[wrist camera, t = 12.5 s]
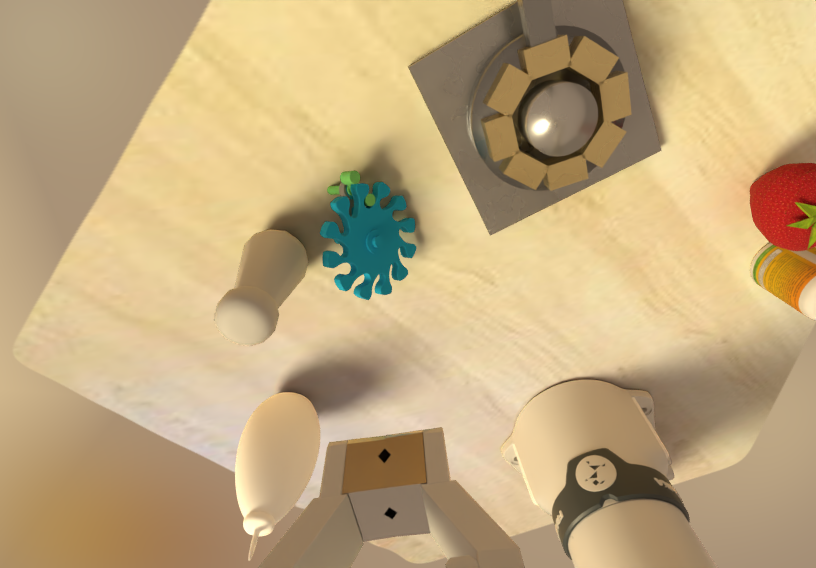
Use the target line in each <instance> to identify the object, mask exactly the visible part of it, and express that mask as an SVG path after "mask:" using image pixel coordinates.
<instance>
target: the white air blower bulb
mask: <svg viewBox="0 0 816 568" xmlns="http://www.w3.org/2000/svg"><path fill="white" fill-rule="evenodd" d="M319 447H320V425H319V420H318V416H317V413H316V411H315V409H314V406H313V405H312V403H311V402H310V401H309V399H307V398H306V397H305V396H303V395H301V394H298V393H293V392H283V393H278V394H275V395H273V396H271V397H270V398H268V399H267V400H265V401H264V402H262V403H261V404H260V405H259V406H258V408H257V409H256V410H255V411H254V412H253V414H252V415H251V416H250V418H249V420H248V422H247V424H246V426H245V428H244V430H243V433H242V435H241V438H240V442H239V446H238V451H237V457H236V465H235V481H236V492H237V499H238V503H239V506H240V510H241V512H242V514H243V517H244V522H243V526H244V529H245V531H246V532H247V533H248V534H250V535H253V538H252V542H251V546H250V551H249V561H250V560H251V558H252V555H253V553H254V550H255V547H256V544H257V541H258V537H259V536H265V535H268V534H270V533H271V532H272V531H273V529H274V527H275V524H276V523H277V522H278V521H280V520H281V519H282V518H283V517H284V516H285V515H286V514H287V513H288V512H289V511H290V510H291V509H292V507H293V506H294V505H295V503H296V502H297V501H298V499H299V498H300V496H301V494H302V493H303V491H304V489H305V488H306V486H307V484H308V482H309V480H310V478H311V476H312V473H313V470H314V468H315V464H316V461H317V457H318V453H319Z"/></svg>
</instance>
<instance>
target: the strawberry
mask: <svg viewBox="0 0 816 568" xmlns="http://www.w3.org/2000/svg"><path fill="white" fill-rule="evenodd" d="M750 206H751V212H752V217H753V221H754V223H755V225H756V227H757V228H758V229H759V230H760V232H761V233H762V234H763V235H764V236H765V237H766V239H767V240H768V241H769V242H770V243H772V244H773V245H775V246H777V247H780V248H783V249H787V250H791V251H805V250H808V249H811V248H813V247H815V246H816V164H815V163H798V164H786V165H783V166H780V167H778V168H776V169H774V170H772V171H770V172H768V173H766V174H764V175H763V176H762V177H760V178H759V179H758V180H757V181H755V182H754V183H753V184H752V185H751V187H750Z"/></svg>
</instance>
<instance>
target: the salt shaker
mask: <svg viewBox="0 0 816 568" xmlns="http://www.w3.org/2000/svg"><path fill="white" fill-rule="evenodd" d="M307 266H308V259H307V254H306V250H305V248H304V246H303V245H302V243H301V242H300V241H299V240H298V239H297V238H296V237H294V236H292V235H291V234H290V233H289V232H288V231H286V230H284V231H281V230H271V229H268V230H265V231H262V232H259V233H256V234H254V235H253V236H252V237H251V238H250V239H249V240H248V242H247V243H246V244H245V245H244V249H243V253H242V257H241V261H240V266H239V270H238V274H237V279H236V283H235V287H234V289H232V290H229V291H228V292H227V293H226V294H225V295H224V297H223V298H222V299H221V300H220V301H219V302H218V304H217V307H216V312H215V316H214V321H215V324H216V327H217V329H218V331H219V332H220V333H221V334H222V335H223V336H224V337H225V338H226V339H227V340H229V341H231V342H234V343H236V344H238V345H247V346H253V345H256V344H259V343H263V342H264V341H265V340H266V339H267V338H269V337H270V336H271V335H272V333H273V332H274V331H275V328H276V325H277V321H278V317H279V312H278V308H279V307H280V306H281V304H282V303H283V302H284V301H285V300H286V298H287V297H288V296H289V295H290V293H291V292H292V291H293V290H294V289H295V287H296V286H297V285H298V284H299V283H300V281H301V280H302V279H303V278H304V276H305V273H306V269H307Z"/></svg>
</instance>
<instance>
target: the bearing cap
mask: <svg viewBox="0 0 816 568" xmlns="http://www.w3.org/2000/svg"><path fill="white" fill-rule="evenodd" d="M551 4H552V11H553V17H554V23H555V29H556V36H557V35H567V38H568V44H569V45H570V44H571V42H572V40H573V38H574V37H575V36H585V37H587V38H589V39H590V40H592V41H593V42H595V43H597V44H598V45H600V46H601V47H603V48H605V49H606V50H608V51H609V52H611V53H613V54H614V55H616V56H617V57H619V59H618V60H617V62H616V64H615V65H614V67H613V68H612V70H611V72H614V71H623V72H628V82H629V92H630V103H631V113H632V115H629V116H626V117H624V118H621V119H618V120H615V121H612V122H611V123H612V124H614V125H616V126H618V127H619V128H621V129H623V130H625V131H626V134H625V135H624V137H623V138H622V140H621V141H620V143H619V144H618V145H617V147H616V148H615V150H614V151H613V153H612V154H611V156H610V157H609V159H608V160H607V162H606V163H605V164H604V166H603V167H602V168H601V167H599V166H597V165H595V164H594V163H592V162H590V161H588V160H586V165H587V172H588V179H585V180H582V181H579V182H576V183H573V184H570V185H567V186H564V187H561V188H558V189H555V190H552V191H550V190H549V189H548V188H547V187H546V186H545V185H544V183H543V179H542V181H541V183H540V184H539V186H538V187H537V189H536V190H534V189H532V188H530V187H528V186H527V185H525V184H523V183H521V182H519V181H517V180H515V179H513V178H511V177H509V176H507V175H505V174H503V173H502V171H501V170H500V169H499V166H500V165H501V163H502V161H503V159H502V160H499V161H496V162H494V161H493V160H492V159H491V158H490V156H489V152H488V148H487V144H486V140H485V136H484V132H483V128H482V124H481V120H480V119H482V118H485V117H488V116H491V115H494V114H496V113H499V112H498V111H496V110H494V109H493V108H491V107H489V106H487V105H486V104H484V103H483V101H484V99H485V97H486V95H487V93H488V91H489V89H490V87H491V85H492V83H493V82H494V80H495V78H496V76H497V74H498V72H499V70H500V68H501V66H502V65H503V63H508V64H511V65H512V66H514V67H516V68H517V69H519V70H521V67H520V62H519V57H518V52H517V50H519V49H522V48H525V47H526V43H525V37H524V32H523V27H522V21H521V16H520V11H519V6H518V1H516V2H515V3H513V4H511V5H510V6H508V7H506V8H505V9H503V10H501V11H500V12H498V13H496V14H495V15H493V16H491V17H490V18H488V19H486V20H485V21H483V22H481V23H480V24H478V25H476V26H475V27H473V28H471V29H470V30H468V31H466V32H465V33H463V34H461V35H460V36H458V37H457V38H455V39H453V40H452V41H450V42H448V43H447V44H445V45H443V46H442V47H440V48H438V49H437V50H435V51H433V52H432V53H430V54H428V55H427V56H425V57H423V58H422V59H420V60H418V61H417V62H415V63H413V64H412V65H410V66H408V68H409V70H410V72H411V74H412V76H413V78H414V80H415V82H416V84H417V86H418V88H419V90H420V92H421V94H422V96H423V98H424V101H425V103H426V105H427V107H428V109H429V111H430V113H431V115H432V117H433V119H434V121H435V123H436V125H437V127H438V129H439V131H440V133H441V135H442V137H443V140H444V142H445V144H446V146H447V148H448V150H449V152H450V154H451V156H452V158H453V160H454V162H455V164H456V166H457V168H458V170H459V172H460V174H461V176H462V178H463V181H464V183H465V185H466V187H467V189H468V191H469V193H470V195H471V197H472V199H473V201H474V203H475V205H476V207H477V209H478V211H479V213H480V215H481V217H482V219H483V222H484V224H485V226H486V228H487V230H488V232H489V234H490V235H492V234H494V233H496V232H498V231H500V230H502V229H504V228H506V227H508V226H510V225H512V224H514V223H516V222H518V221H520V220H522V219H524V218H526V217H528V216H530V215H532V214H534V213H536V212H538V211H540V210H542V209H544V208H546V207H548V206H551V205H553V204H555V203H557V202H559V201H561V200H563V199H565V198H567V197H569V196H571V195H573V194H575V193H577V192H579V191H581V190H583V189H585V188H587V187H589V186H591V185H593V184H595V183H597V182H599V181H601V180H603V179H605V178H607V177H609V176H611V175H613V174H615V173H617V172H619V171H621V170H623V169H625V168H627V167H629V166H631V165H633V164H635V163H637V162H639V161H641V160H643V159H645V158H647V157H649V156H651V155H653V154H655V153H657V152H659V151H661V147H660V143H659V139H658V135H657V132H656V128H655V124H654V120H653V116H652V112H651V108H650V105H649V101H648V97H647V93H646V89H645V85H644V81H643V78H642V74H641V70H640V66H639V62H638V58H637V55H636V51H635V47H634V43H633V39H632V35H631V31H630V28H629V24H628V20H627V16H626V12H625V8H624V4H623V1H622V0H551ZM611 72H610V73H611ZM512 119H513V124H514V129H515V133H516V138H517V142H518V147H519V149H520V150H522V151H524V152H526V153H528V154H530V155H531V156H533V157H535V158H537V159H539V160H541V161H542V160H545V159H548V158H551V157H554V156H556V157H557V156H565V155H569V154H571V153H573V152H575V151H577V150H578V149H580V148H581V147H582V146H583V145H584V144H586V142H587V141H588V140H589V139H590V137H591V136H592V134H593V132H594V130H595V127H596V124H597V120H598V107H597V103H596V100H595V98H594V96H593V95H592V94H591V89H590V83H589V82H588V81H586V80H584V79H583V78H581V77H579V76H578V75H576V74H574V73H573V72H571V71H569V70H568V69H566V68H564V69H561V70H558V71H556V72H553V73H550V74H547V75H545V76H542V77H539V78H536V79H534V80H532V81H531V83H530V84H529V86H528V88H527V90H526V92H525V93H524V95H523V97H522V99H521V100H520V102H519V104H518V106H517V107H516V109H515V111H514V113H513V115H512Z"/></svg>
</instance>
